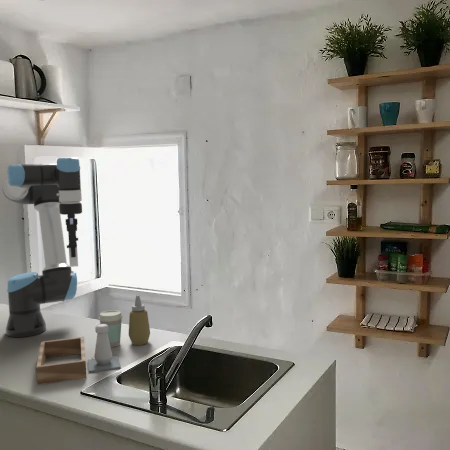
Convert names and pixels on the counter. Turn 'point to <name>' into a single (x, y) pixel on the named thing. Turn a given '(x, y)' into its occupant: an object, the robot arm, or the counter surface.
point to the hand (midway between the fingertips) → (73, 262)
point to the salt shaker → (102, 345)
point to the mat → (95, 367)
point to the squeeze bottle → (138, 323)
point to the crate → (61, 370)
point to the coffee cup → (112, 325)
